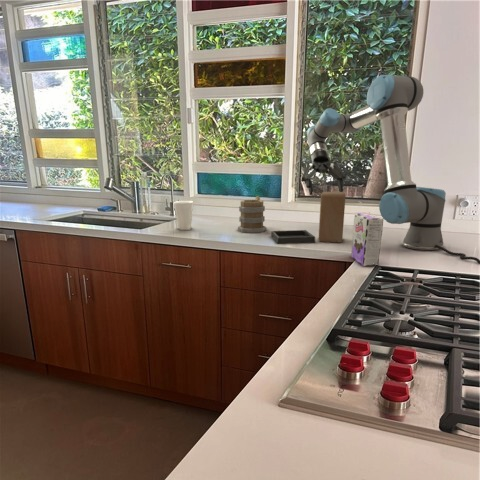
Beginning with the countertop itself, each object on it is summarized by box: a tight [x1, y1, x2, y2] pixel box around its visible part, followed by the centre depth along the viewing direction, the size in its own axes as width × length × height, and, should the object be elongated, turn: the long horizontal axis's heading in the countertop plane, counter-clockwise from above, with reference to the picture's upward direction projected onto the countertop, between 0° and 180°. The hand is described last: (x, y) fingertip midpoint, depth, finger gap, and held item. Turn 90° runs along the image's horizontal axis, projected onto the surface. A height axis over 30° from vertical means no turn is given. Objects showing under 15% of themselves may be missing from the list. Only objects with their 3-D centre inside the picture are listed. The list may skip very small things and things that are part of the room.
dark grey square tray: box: [270, 229, 316, 245], centre depth 203 cm, size 16×16×2 cm
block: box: [318, 191, 347, 243], centre depth 197 cm, size 10×10×20 cm
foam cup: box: [173, 200, 194, 231], centre depth 228 cm, size 10×9×13 cm
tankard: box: [237, 195, 267, 234], centre depth 225 cm, size 20×13×15 cm, turn 161°
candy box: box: [350, 211, 385, 267], centre depth 162 cm, size 14×6×16 cm, turn 4°
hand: (326, 192), depth 203 cm, fingers open, 13 cm apart
